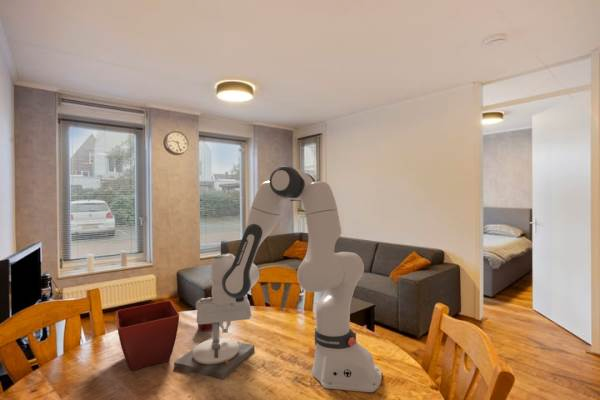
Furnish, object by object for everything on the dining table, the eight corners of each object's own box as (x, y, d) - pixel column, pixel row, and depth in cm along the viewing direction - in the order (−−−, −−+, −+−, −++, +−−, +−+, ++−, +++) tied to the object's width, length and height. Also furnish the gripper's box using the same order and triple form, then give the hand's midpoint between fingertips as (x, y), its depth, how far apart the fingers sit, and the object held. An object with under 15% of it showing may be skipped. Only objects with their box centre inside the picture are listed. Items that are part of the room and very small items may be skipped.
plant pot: (118, 379, 100) (117, 328, 100) (117, 354, 116) (115, 310, 116) (181, 362, 110) (179, 315, 110) (171, 341, 126) (170, 300, 126)
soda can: (209, 332, 133) (209, 305, 133) (194, 331, 135) (194, 304, 135) (217, 325, 141) (217, 299, 140) (203, 324, 142) (202, 298, 142)
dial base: (254, 350, 118) (254, 343, 118) (223, 379, 99) (223, 372, 99) (210, 342, 125) (210, 335, 125) (174, 368, 106) (174, 360, 106)
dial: (237, 339, 122) (236, 318, 121) (240, 360, 106) (240, 335, 106) (194, 345, 117) (193, 323, 117) (191, 367, 102) (190, 342, 102)
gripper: (194, 301, 113) (195, 339, 113) (250, 296, 117) (252, 332, 117) (196, 296, 119) (197, 332, 119) (250, 291, 123) (251, 326, 123)
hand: (225, 332), depth 118 cm, fingers closed
